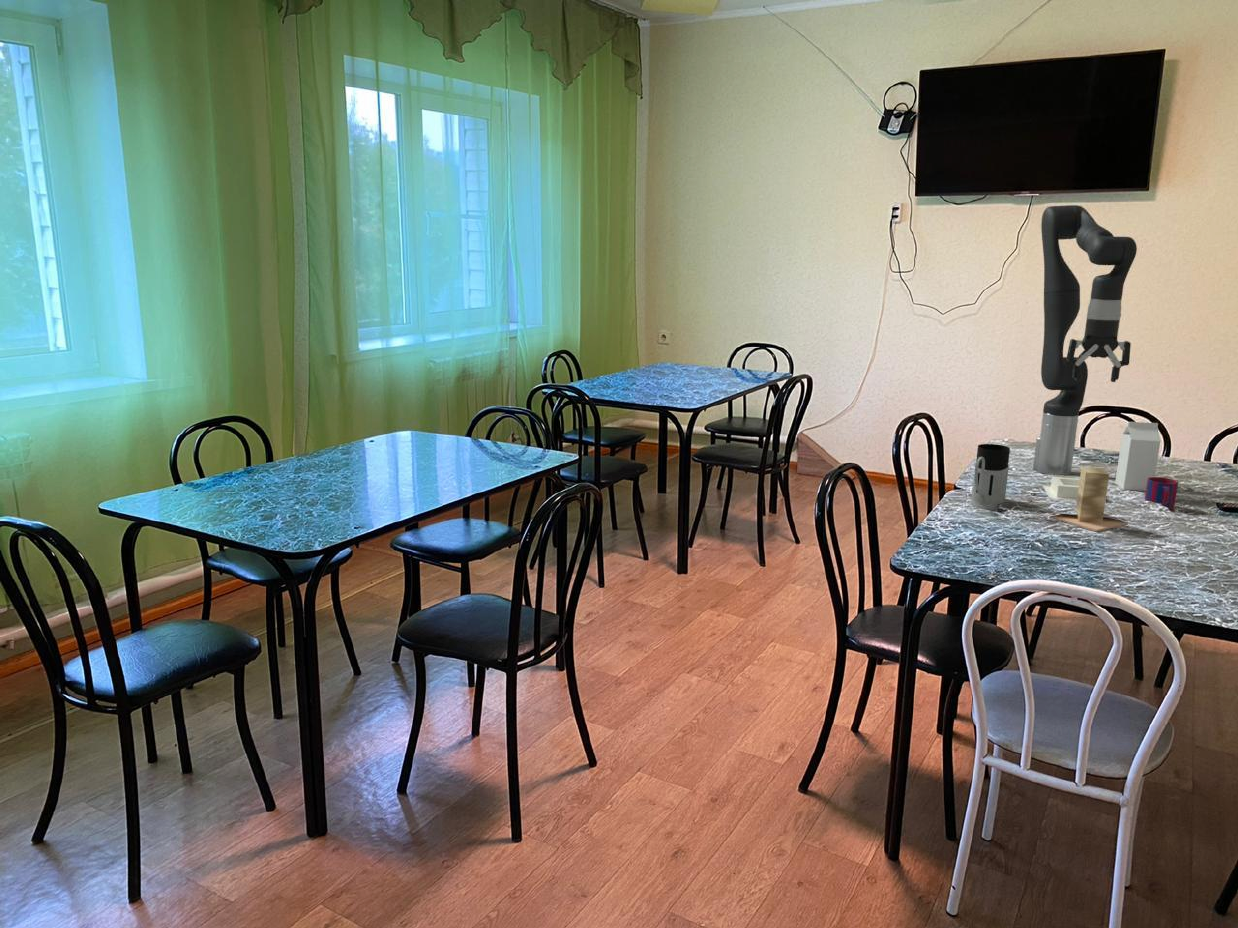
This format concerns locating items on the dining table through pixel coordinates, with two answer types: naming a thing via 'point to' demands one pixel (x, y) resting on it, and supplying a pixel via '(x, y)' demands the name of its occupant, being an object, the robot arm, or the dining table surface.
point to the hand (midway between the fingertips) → (1094, 380)
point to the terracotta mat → (1105, 525)
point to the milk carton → (1138, 455)
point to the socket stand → (1063, 488)
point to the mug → (1162, 491)
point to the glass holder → (990, 476)
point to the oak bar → (1092, 495)
